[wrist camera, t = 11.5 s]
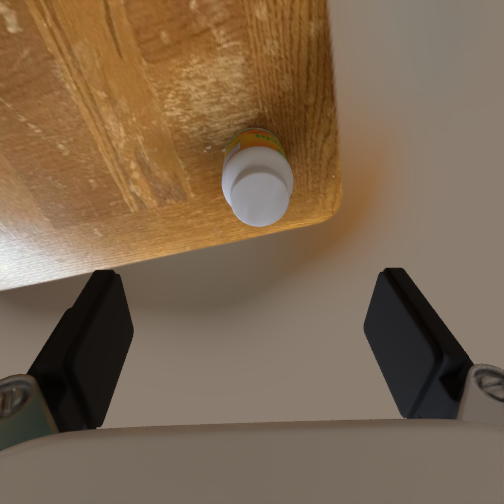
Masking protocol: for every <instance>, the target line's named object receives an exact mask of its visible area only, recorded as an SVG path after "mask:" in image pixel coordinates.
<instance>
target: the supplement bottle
mask: <svg viewBox="0 0 504 504" xmlns="http://www.w3.org/2000/svg"><path fill="white" fill-rule="evenodd" d="M222 189H223V193H224V196H225V198H226V200H227V202H228V203H229V204H230V206H231V207H232V209H233V212H234V213H235V215H236V216H237V217H238V218H239V219H240V220H241V221H242V222H244V223H246V224H248V225H251V226H267V225H270V224H272V223H274V222H276V221H278V220H279V219H280V218H281V217H282V216H283V215H284V213H285V212H286V210H287V208H288V205H289V198H290V196H291V193H292V190H293V174H292V170H291V168H290V165H289V163H288V160H287V158H286V156H285V153H284V151H283V148H282V145H281V144H280V142H279V140H278V139H277V138H276V137H275V136H274V135H273V134H272V133H271V132H269V131H267V130H265V129H262V128H248V129H244V130H242V131H240V132H239V133H237V134H236V135H235V136H234V137H233V138H232V139H231V140H230V142H229V143H228V145H227V148H226V151H225V157H224V166H223V174H222Z"/></svg>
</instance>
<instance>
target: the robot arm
mask: <svg viewBox="0 0 504 504" xmlns="http://www.w3.org/2000/svg"><path fill="white" fill-rule="evenodd" d="M133 333H134V329H133V324H132V320H131V317H130V312H129V308H128V304H127V300H126V296H125V292H124V288H123V284H122V281H121V277H120V275H119V274H115V272H114V271H113V270H95V271H94V272H93V274H92V276H91V277H90V279H89V281H88V282H87V284H86V285H85V287H84V289H83V290H82V292H81V294H80V295H79V297H78V298H77V300H76V302H75V303H74V305H73V307H72V308H69V309H67V311H66V312H65V313H64V315H63V316H62V318H61V320H60V321H59V323H58V324H57V326H56V327H55V329H54V331H53V332H52V334H51V335H50V337H49V339H48V340H47V342H46V343H45V345H44V347H43V348H42V350H41V351H40V353H39V355H38V356H37V358H36V359H35V361H34V362H33V364H32V366H31V367H30V369H29V370H28V372H27V374H17V375H12V376H8V377H6V378H4V379H1V380H0V504H504V370H503V369H501V368H498V367H496V366H493V365H489V364H476V365H474V364H473V362H472V361H471V360H470V358H469V356H468V355H467V353H466V352H465V351H464V349H463V348H462V347H461V345H460V344H459V343H458V341H457V340H456V339H455V337H454V336H453V335H452V333H451V332H450V331H449V329H448V328H447V326H446V325H445V324H444V322H443V321H442V320H441V318H440V317H439V316H438V314H437V313H436V312H435V310H434V309H433V308H432V306H431V305H430V304H429V302H428V301H427V299H426V298H425V297H424V295H423V294H422V293H421V291H420V290H419V289H418V288H417V286H416V285H415V283H414V282H413V281H412V279H411V278H410V277H409V275H408V274H407V273H406V271H405V270H404V269H403V268H386V269H384V271H383V272H380V273H379V275H378V278H377V281H376V285H375V288H374V292H373V295H372V298H371V301H370V305H369V308H368V312H367V315H366V318H365V322H364V333H365V335H366V338H367V340H368V342H369V344H370V347H371V349H372V351H373V353H374V356H375V358H376V360H377V362H378V365H379V367H380V369H381V371H382V373H383V376H384V378H385V380H386V383H387V385H388V387H389V389H390V392H391V394H392V396H393V398H394V401H395V403H396V405H397V407H398V410H399V412H400V414H401V415H402V417H404V418H407V419H374V420H373V419H370V420H335V421H334V420H331V421H297V422H295V421H294V422H264V423H263V422H262V423H234V424H233V423H232V424H231V423H230V424H201V425H176V426H148V427H147V426H146V427H128V428H109V429H96V428H97V427H101V426H102V424H103V422H104V419H105V416H106V413H107V411H108V408H109V405H110V402H111V399H112V396H113V393H114V390H115V387H116V384H117V381H118V379H119V376H120V373H121V370H122V367H123V364H124V361H125V359H126V355H127V353H128V350H129V347H130V344H131V341H132V338H133Z"/></svg>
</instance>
